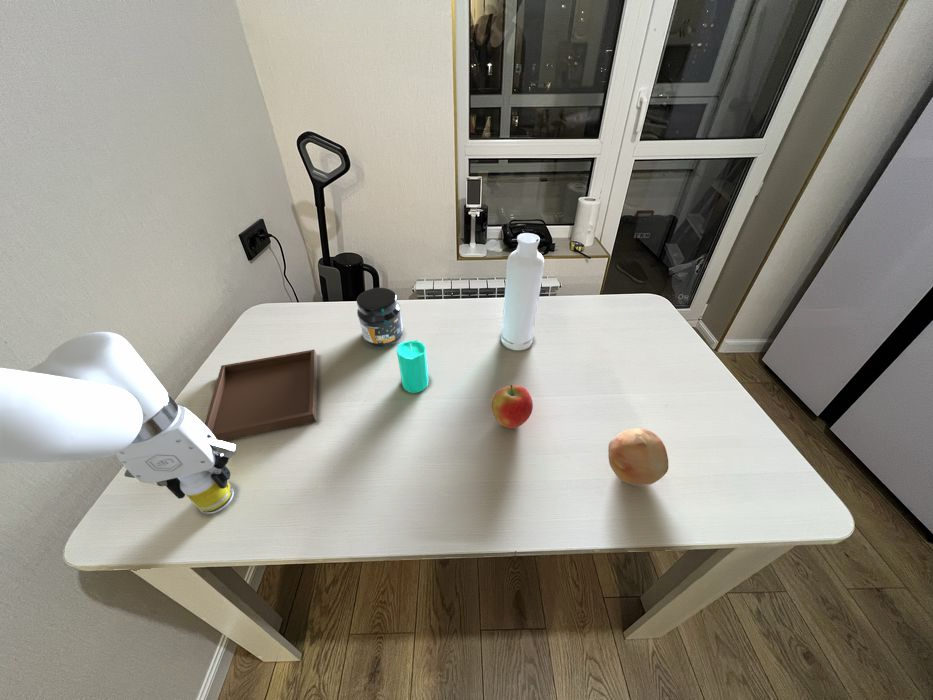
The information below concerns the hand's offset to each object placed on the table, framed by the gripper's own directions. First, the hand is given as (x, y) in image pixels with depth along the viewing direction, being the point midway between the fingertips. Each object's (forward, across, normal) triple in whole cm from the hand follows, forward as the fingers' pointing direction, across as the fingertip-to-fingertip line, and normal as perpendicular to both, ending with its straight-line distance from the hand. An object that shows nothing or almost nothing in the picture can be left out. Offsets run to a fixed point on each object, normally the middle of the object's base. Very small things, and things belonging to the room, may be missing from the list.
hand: (204, 484), depth 62 cm
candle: (+5, +38, +18) cm, 42 cm away
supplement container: (+5, +33, +37) cm, 50 cm away
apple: (+5, +55, +2) cm, 55 cm away
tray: (+5, +6, +23) cm, 24 cm away
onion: (+5, +72, -15) cm, 74 cm away
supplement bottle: (+5, 0, 0) cm, 5 cm away
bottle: (+5, +66, +26) cm, 71 cm away
